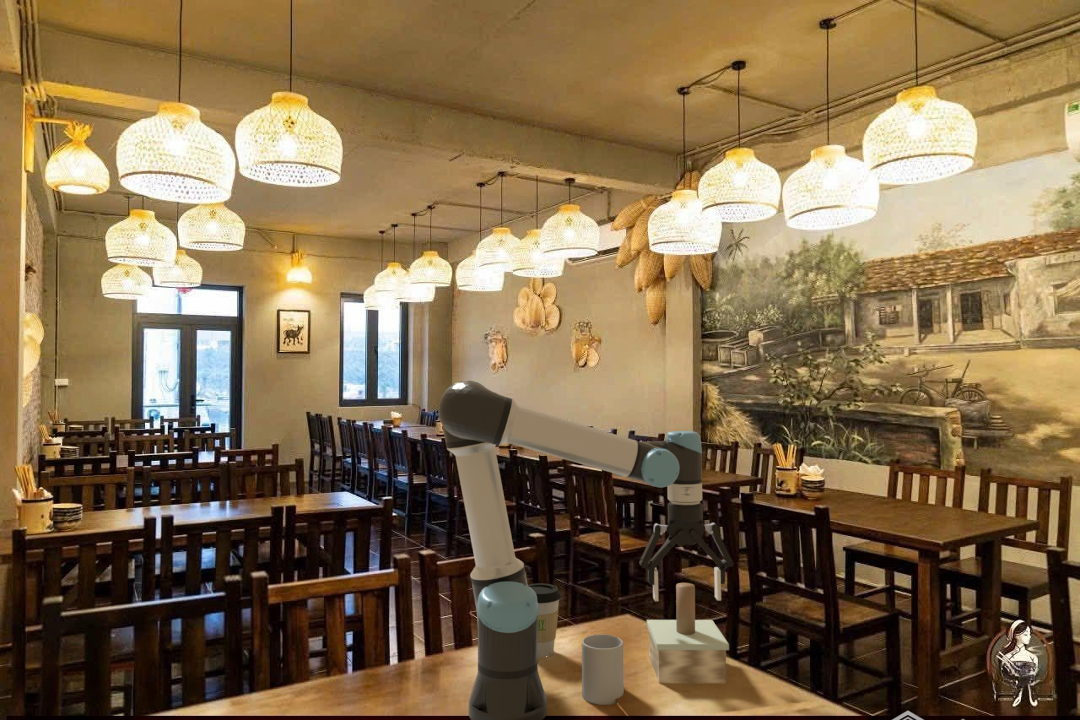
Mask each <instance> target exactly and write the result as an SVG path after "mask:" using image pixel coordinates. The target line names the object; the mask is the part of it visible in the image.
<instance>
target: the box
mask: <svg viewBox="0 0 1080 720" xmlns="http://www.w3.org/2000/svg"><path fill="white" fill-rule="evenodd" d="M648 635H649V636H648V638H649V639H648V641H649V642H648V643H649V645H648V647H649V648H648V651H649V652H648V653H649V654H648V655H649V656H648V657H649V660H650V663H651V666H652V668H653V671H654V673H655V676H656V679H657V682H658V683H659V684H727V650H657V649H656V647H655V644H654V642H653V639H652V637H651V634H650V632H649V631H648Z"/></svg>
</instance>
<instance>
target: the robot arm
mask: <svg viewBox="0 0 1080 720" xmlns="http://www.w3.org/2000/svg"><path fill="white" fill-rule="evenodd" d="M438 403H439V404H438V409H437V410H438V411H437V412H438V413H437V414H438V418H439V421H440V423H441V425H442V431H443V436H444V440H445V446H446V447H445V448H446V450H447V451H449V452H450V453H452V455H454V456H455V461H456V466H457V471H458V477H459V482H460V488H461V493H462V499H463V503H464V504H463V505H464V510H465V515H466V521H467V524H468V531H469V536H470V542H471V548H472V552H473V557H474V563H475V566H474V567H473V569H472V571H471V572H470V574H469V575H470V579H471V586H472V593H473V598H474V603H475V610H476V619H477V620H476V622H477V623H476V624H477V674H476V677H475V680H474V683H473V686H472V690H471V693H470V696H469V699H468V716H469V718H470V720H544V719H545V717H546V716H547V713H548V712H547V711H548V710H547V709H548V705H547V704H548V703H547V702H548V699H547V696H546V693H545V690H544V686H543V684H542V680H541V677H540V674H539V670H538V667H539V665H538V662H539V661H538V659H539V658H538V620H537V616H538V611H539V606H538V602H537V596H536V593H535V591H534V590H533V589H532V588H531V587H529V586H528V585H529V584H528V580H527V573H526V570H525V563H524V562H523V561H522V560H520V559H519V558H517V557H516V554H515V548H514V543H513V538H512V532H511V528H510V522H509V521H510V520H509V516H508V511H507V505H506V500H505V496H504V494H505V493H504V489H503V483H502V479H501V473H500V472H501V471H500V468H499V463H498V457H497V451H496V446H497V447H501V446H503V445H505V444H510V445H514V446H518V447H521V448H524V449H528V450H530V451H531V450H532V451H535V452H537V453H542V454H545V455H549V456H553V457H556V458H560V459H562V460H565V461H570V462H574V463H578V464H581V465H584V466H587V467H588V466H589V467H591V468H594V469H598V470H602V471H605V472H609V473H613V474H615V475H616V476H617V477H626V478H629V479H632V480H636V481H638V482H642V483H646V484H648V485H649V486H651V487H656V488H665V487H667V500H668V501H669V502H668V503H667V523H666V524H659V523H657V522H655V523H654V524H653V527H652V528H653V529H652V534H651V536H650V538H649V540H648V542H647V544H646V546H645V549H644V551H643V553H642V555H641V557H640V559H639V561H638V562H639V565H640V567H641V568H643V569H646V570H647V582H648V584H649V586H652V598H653V600H654V602H659V570H658V569H657V567H658V565H659V564H660V563H661V562H662V560H663V559H664V558H665V557H666V556H667V554H669V552H670V551H671V549H672V548H674V547H675V545H676V544H677V545H678V546H686V545H689V546H694V545H695V544H698V545H699V546H700V547H701V548H702V550H704V552H705V553H706V554H707V555H708V556H709V557H710V559H711V560H713V562H714V564H716V565H717V566H715V567H713V571H714V572H713V573H714V574H713V575H714V576H713V577H714V598H715V600H716V601H722V585H725V584H726V570H727V569H728V568H729V567H734V565H735V564H734V561H733V559H732V557H731V555H730V553H729V551H728V550H727V547H726V545H725V544H724V541H723V540H722V537H721V536H720V533H719V527H718V525H717V524H716V523H715V522H714V521H712V522H710V523H709V524H708V523H707V524H704V520H703V519H704V514H703V513H704V512H703V511H704V510H703V509H704V508H703V507H704V506H703V504H702V502H701V501H702V500H703V478H702V476H703V475H702V473H703V470H702V469H703V468H702V467H703V463H702V461H703V459H702V458H703V455H702V454H703V450H702V448H703V447H702V441H701V440H702V439H701V435H700V433H698V432H697V431H692V430H673V431H668V432H667V433H666V435H665V436H666V437H665V440H660V441H656V440H655V441H638V440H636V439H632V438H628V437H626V436H625V437H624V436H621V435H619V434H614V433H611V432H608V431H605V430H602V429H598V428H595V427H591V426H587V425H584V424H582V423H578V422H574V421H571V420H568V419H565V418H561V417H557V416H554V415H551V414H547V413H545V412H540V411H538V410H533V409H530V408H528V407H527V408H526V407H523V406H520V405H518V404H517V402H516V401H515V399H513V398H511V397H507V396H504V395H502V394H499V393H498V392H494V391H492V390H490V389H488V388H486V386H485V385H483V384H481V383H479V382H476V381H474V380H462V381H459V382H455V383H453V384H451V385H450V386H449V387H448V388H446V390H445V391H444V393H443V394H442V396H441V398H440V400H439V402H438ZM705 531H707V533H708V534H709V535H711V536H712V538H713V541H714V543H715V544H716V546H717V548H718V550H719V552H720V554H721V556H722V558H723V560H721V559H720V558H719V557H718V556H717V554H716V553H715V552H714V551H713V550H712V549H711V548H710V547H709V546H708V544H707V543H706V542H705V540H703V538H702V536H703V535H704V534H705ZM664 532H667V533H668V535H669V536H668V537H667V539H666V540H665V542H664V543H663V544H662V546H661V547H660V548H659V549H658V550H657V552H656V553H655V554H654V556H652V555H653V553H654V550H655V548H656V546H657V544H658V542H659V540H660V537H661V536H662V535H663V534H664ZM651 556H652V557H651Z"/></svg>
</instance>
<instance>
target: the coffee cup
mask: <svg viewBox="0 0 1080 720" xmlns="http://www.w3.org/2000/svg"><path fill="white" fill-rule="evenodd" d="M528 586H529V587H531V588H532V589H533V590H534V591H535V593H536V596H537V602H538V606H539V611H538V616H537V620H538V657H545V658H547V657H546V656H549V657H551V656H553V654H554V650H555V640H556V637H557V628H558V618H559V604H560V603H559V602H560V599H561V598H562V596H561V592H560V591H559V588H558V586H556V585H553V584H550V583H542V582H541V583H530V584H528ZM550 655H551V656H550Z"/></svg>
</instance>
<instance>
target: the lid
mask: <svg viewBox="0 0 1080 720" xmlns="http://www.w3.org/2000/svg"><path fill="white" fill-rule="evenodd" d="M695 586H696V585H695V584H693V583H689V582H680V583H679V582H678V583H676V585H675V592H676V593H675V595H676V596H675V597H676V600H675V603H676V604H675V605H676V607H675V608H676V610H675V611H676V612H675V613H676V615H675V616H676V617H675V619H646V627H647V629H648V633H649V632H650V634H651V637H652V639H653V642H654V644H655V647H656V649H657V650H726V651H730V644H729V642H728V641H727V639H726V638H725V636H724V635H723V633H722V632H721V630H720V629H719V627H718V626H717V624H715V622H714V621H713V619H696V587H695Z"/></svg>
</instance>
